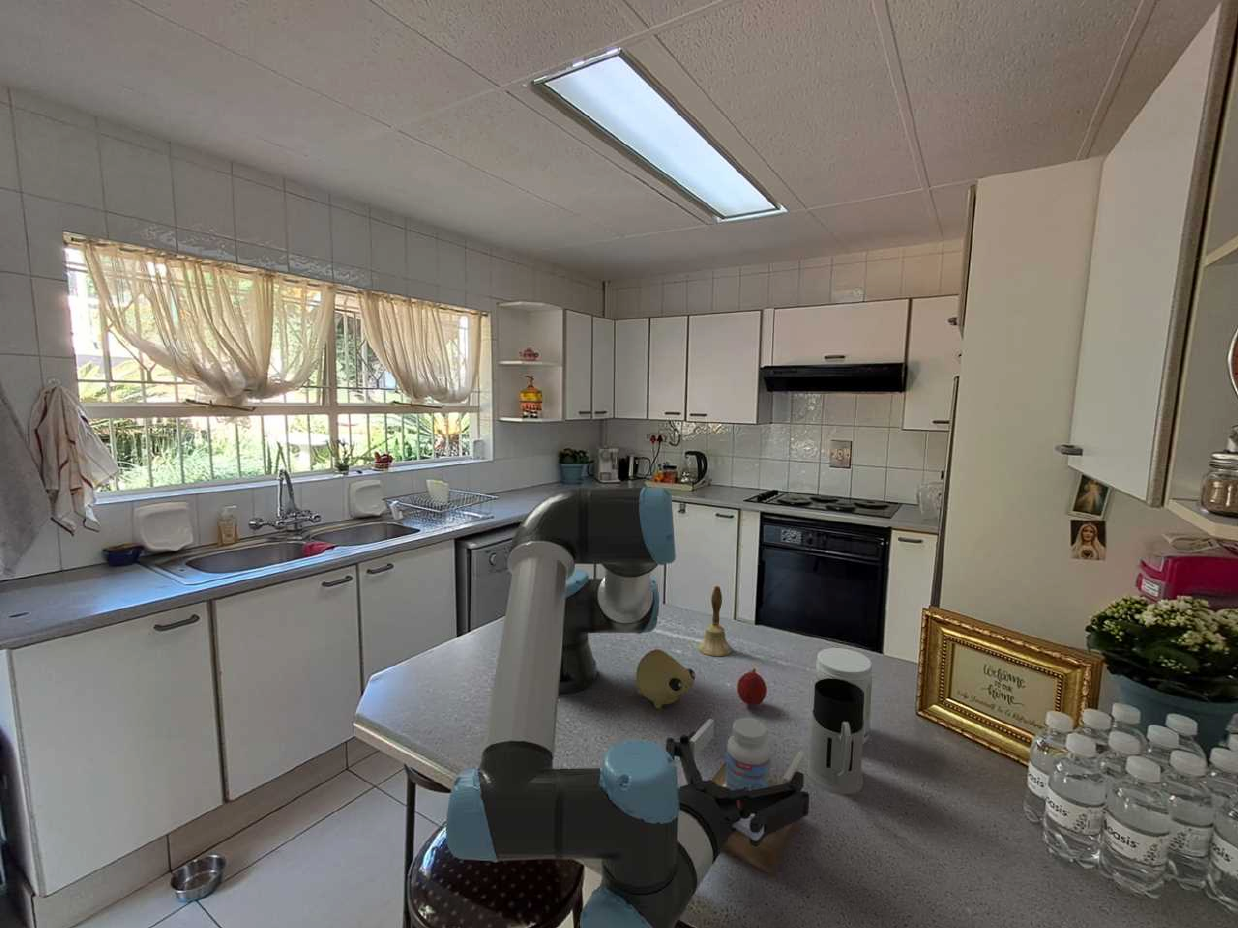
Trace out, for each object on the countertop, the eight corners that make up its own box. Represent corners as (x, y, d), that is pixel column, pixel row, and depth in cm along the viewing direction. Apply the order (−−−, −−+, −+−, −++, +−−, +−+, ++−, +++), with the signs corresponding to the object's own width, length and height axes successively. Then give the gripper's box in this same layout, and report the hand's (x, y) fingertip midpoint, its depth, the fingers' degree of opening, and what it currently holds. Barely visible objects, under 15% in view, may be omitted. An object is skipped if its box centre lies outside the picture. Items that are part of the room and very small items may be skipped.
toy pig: (673, 725, 104) (673, 672, 103) (626, 701, 113) (626, 651, 111) (702, 704, 112) (703, 654, 110) (657, 683, 120) (657, 636, 118)
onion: (766, 715, 107) (768, 677, 106) (736, 712, 109) (738, 674, 108) (765, 699, 113) (766, 663, 112) (736, 696, 114) (737, 660, 113)
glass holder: (857, 762, 94) (862, 679, 92) (876, 824, 80) (882, 729, 78) (804, 754, 96) (807, 673, 94) (813, 814, 82) (818, 721, 80)
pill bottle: (721, 807, 78) (723, 733, 76) (729, 779, 83) (731, 710, 82) (765, 819, 76) (768, 744, 74) (770, 790, 81) (773, 719, 80)
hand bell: (707, 638, 142) (708, 579, 140) (737, 647, 137) (739, 585, 135) (692, 650, 135) (693, 588, 133) (723, 660, 130) (724, 595, 128)
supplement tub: (839, 713, 108) (843, 642, 106) (880, 740, 100) (885, 664, 98) (802, 726, 104) (805, 653, 102) (842, 755, 96) (846, 676, 94)
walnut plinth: (689, 832, 79) (690, 805, 78) (724, 784, 88) (725, 760, 88) (771, 873, 72) (772, 844, 71) (799, 816, 82) (800, 791, 81)
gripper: (598, 820, 70) (678, 737, 88) (792, 927, 56) (842, 802, 74) (598, 766, 70) (679, 693, 87) (795, 861, 55) (845, 751, 73)
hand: (754, 743), depth 80 cm, fingers open, 13 cm apart
